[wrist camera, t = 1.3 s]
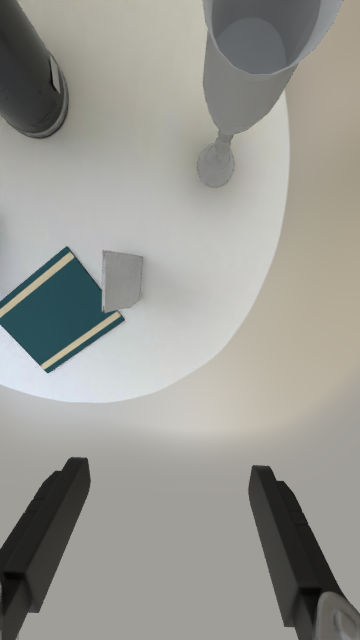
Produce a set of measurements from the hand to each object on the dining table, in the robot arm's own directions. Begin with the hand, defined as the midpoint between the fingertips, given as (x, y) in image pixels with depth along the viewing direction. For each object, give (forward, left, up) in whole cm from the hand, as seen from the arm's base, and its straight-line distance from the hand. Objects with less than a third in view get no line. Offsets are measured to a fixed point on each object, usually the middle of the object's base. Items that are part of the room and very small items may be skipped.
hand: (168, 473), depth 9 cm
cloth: (-13, -16, -24) cm, 32 cm away
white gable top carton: (-11, -2, -24) cm, 27 cm away
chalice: (-16, +17, -24) cm, 34 cm away
